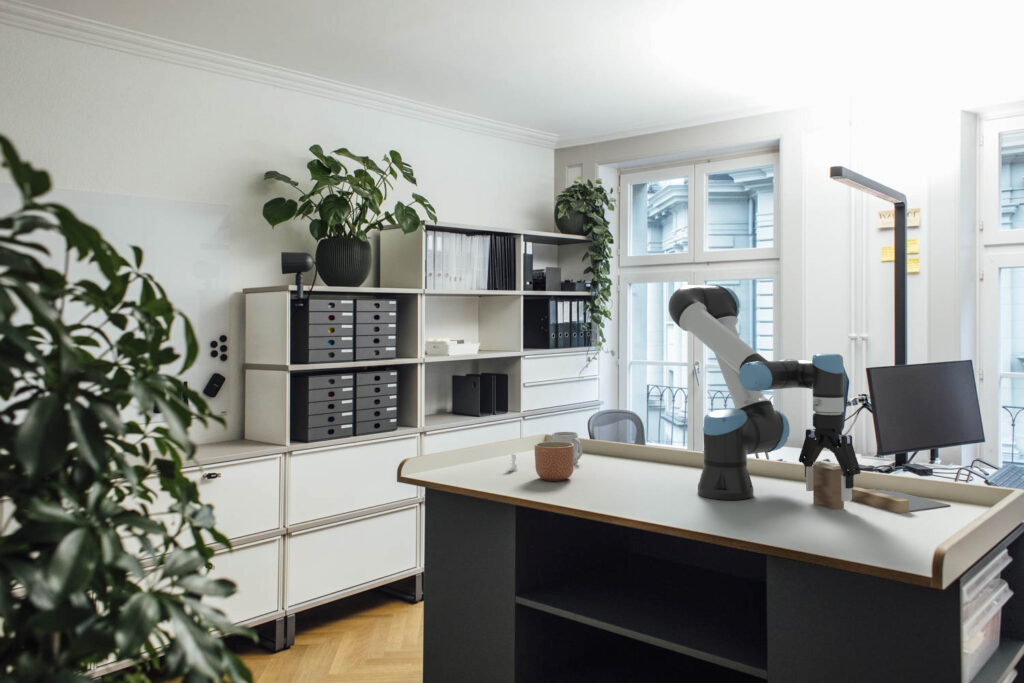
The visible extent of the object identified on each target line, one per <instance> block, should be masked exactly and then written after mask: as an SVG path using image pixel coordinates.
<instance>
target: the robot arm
mask: <svg viewBox="0 0 1024 683" xmlns="http://www.w3.org/2000/svg"><path fill="white" fill-rule="evenodd" d="M740 303H741V302H740V299H739V297H738V295H737V294H736V293H735V292H734V290H733V289H731V288H730V287H727V286H723V285H718V284H715V285H714V284H713V285H693V284H692V285H684V286H682V287H680V288H678V289H676V290H675V291H674V292H673V294H672V295H671V296H670V299H669V301H668V314H669V316H670V317H671V319H672V321H673V322H674V323H675V325H677V326H678V327H679V328H680V329H681V330H682V331H685V332H689V333H691V334H693V335H694V337H696V338H697V339H698V340H700V341H701V343H703V344H704V345H705V346H706V347H707V348H709V349H710V350H711V351H712V352H713V353H714V356H715V358H716V360H717V363H718V366H719V368H720V371H721V374H722V376H723V378H724V379H723V380H724V382H725V385H726V387H727V390H728V392H729V395H730V398H731V400H732V403H733V405H734V408H728V409H717V410H714V411H711V412H709V413H707V414H706V415H705V416H704V418H703V426H702V432H703V468H702V471H701V475H700V478H699V481H698V484H697V494H698V495H699V496H701V497H704V498H707V499H714V500H721V501H722V500H723V501H739V500H746V499H751V498H752V497H754V495H755V494H754V485H753V482H752V479H751V476H750V473H749V471H748V465H747V464H748V463H747V461H748V460H747V459H748V457H747V455H753V454H754V455H755V454H762V453H767V454H768V453H771V452H775V451H777V450H780V449H782V448H783V447H784V446H785V445H786V444H787V442H788V440H789V439H788V438H789V436H790V432H791V430H790V429H791V428H790V423H789V420H788V418H787V416H786V415H785V414H784V413H783V412H781V411H779V410H777V409H776V410H775V408H774V405H773V404H772V400H770V399H768V398H765V397H764V395H763V393H762V392H763V391H771V390H782V389H783V390H784V389H798V388H799V389H810V390H812V411H813V412H814V413H813V414H812V427H813V428H807V429H805V436H804V441H803V444H802V447H801V451H800V455H799V457H798V462H799V463H801V464H803V466H804V478H805V484H806V485H805V491H806V492H812V491H813V462H817V460H818V458H819V456H820V454H821V453H822V451H823V450H824V449H826V450H830V452H831V453H833V455H834V457H835V459H836V460H837V464H839V465H840V467H841V469H842V471H843V473H844V474H843V475H841V501H844V502H850V501H853V500H852V488H853V486H855V485H854V480H855V479H854V478H855V476H856V475H860V474H861V472H862V471H861V468H860V465H859V462H858V459H857V458H858V457H857V455H856V452H855V448H854V445H853V436H852V435H851V434H848V435H845V434H843V433H842V430H843V428H844V427H845V421H844V420H845V415H844V414H843V413H844V412H845V403H844V400H845V399H844V398H845V397H844V385H845V384H844V383H845V382H844V381H845V380H844V379H845V378H844V377H845V367H844V358H843V356H842V355H841V354H839V353H814V354H813V356H812V359H811V360H805V359H803V360H802V359H794V358H790V359H789V358H787V359H781V360H775V361H774V360H771V361H769V360H768V359H766V358H765V357H764V356H762V355H761V354H759V353H758V352H757V351H756V350H755V349H753V347H751V346H750V345H748V344H747V343H746V342H745V341H744V340H742V339H741V337H740V335H739V333H738V330H737V323H738V321H739V319H738V316H739V314H740V309H739V308H741V305H740Z"/></svg>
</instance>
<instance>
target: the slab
mask: <svg viewBox="0 0 1024 683" xmlns="http://www.w3.org/2000/svg"><path fill="white" fill-rule="evenodd" d="M812 466H813V493H812V494H813V497H812V498H813V500H812V501H813V503H812V504H813V505H815V506H819V507H822V508H826V509H829V510H833V511H834V510H835V511H836V509H837V510H842V509H843V508H844V509H845V506H844V505H845V501H841V475H843V474H844V473H843V471H842V469H841V467H840V465H839V463H835V462H830V461H827V460H818V461H817V460H816V461H815V462H813V465H812Z"/></svg>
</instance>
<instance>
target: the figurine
mask: <svg viewBox="0 0 1024 683" xmlns="http://www.w3.org/2000/svg"><path fill="white" fill-rule="evenodd" d="M516 460H517V454H516V453H512V454H511V460H510V461H511V462H510V465H511V467H510V468H507V469H506V472H508V473H509V472H517V471H518V465H517V462H516Z"/></svg>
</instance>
